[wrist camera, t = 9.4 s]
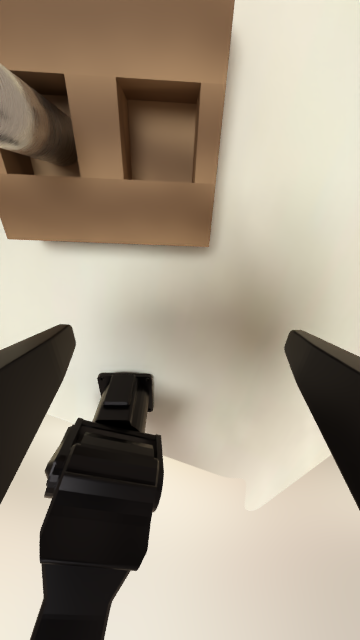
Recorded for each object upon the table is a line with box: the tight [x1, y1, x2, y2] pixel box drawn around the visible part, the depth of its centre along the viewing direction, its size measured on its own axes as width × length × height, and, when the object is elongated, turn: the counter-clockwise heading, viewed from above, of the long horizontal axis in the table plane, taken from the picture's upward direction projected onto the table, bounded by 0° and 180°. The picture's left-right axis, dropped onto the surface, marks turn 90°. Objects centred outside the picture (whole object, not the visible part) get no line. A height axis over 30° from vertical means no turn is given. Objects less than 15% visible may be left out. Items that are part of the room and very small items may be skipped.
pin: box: [0, 63, 78, 166], centre depth 11 cm, size 3×3×8 cm
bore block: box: [0, 0, 235, 247], centre depth 14 cm, size 12×14×4 cm
